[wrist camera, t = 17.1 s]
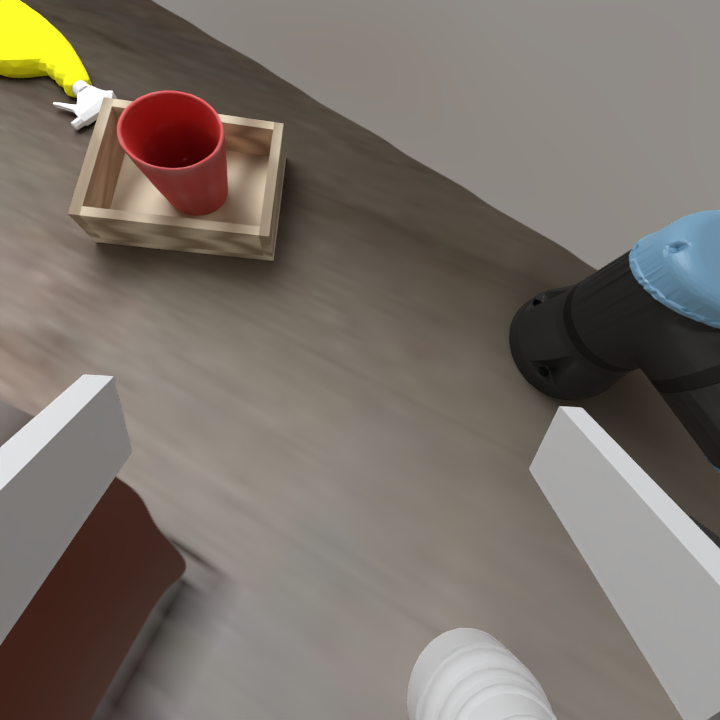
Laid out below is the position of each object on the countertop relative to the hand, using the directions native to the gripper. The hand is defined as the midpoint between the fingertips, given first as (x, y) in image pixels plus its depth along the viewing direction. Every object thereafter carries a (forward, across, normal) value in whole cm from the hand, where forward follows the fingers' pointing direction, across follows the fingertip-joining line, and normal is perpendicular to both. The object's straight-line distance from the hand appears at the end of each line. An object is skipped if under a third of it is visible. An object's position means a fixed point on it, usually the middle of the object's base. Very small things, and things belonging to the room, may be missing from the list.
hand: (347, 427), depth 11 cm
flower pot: (+46, -19, 0) cm, 49 cm away
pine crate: (+46, -19, 0) cm, 50 cm away
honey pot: (+6, +17, -40) cm, 44 cm away
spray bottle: (+60, -43, +12) cm, 75 cm away
